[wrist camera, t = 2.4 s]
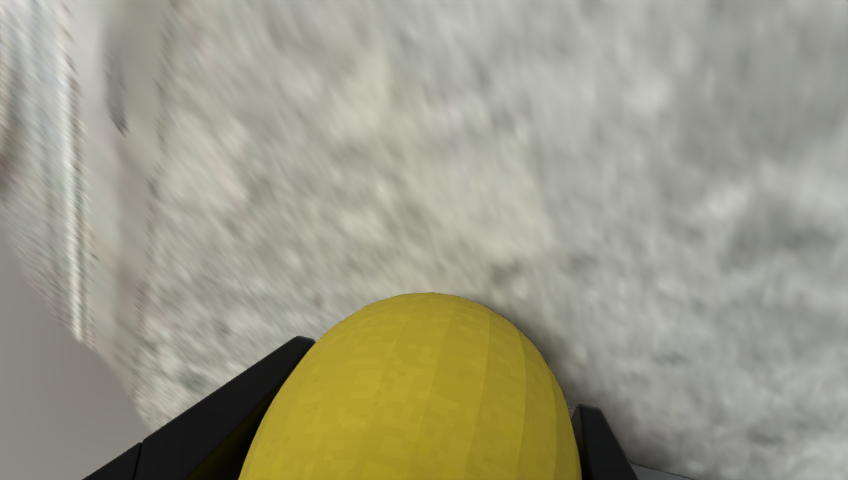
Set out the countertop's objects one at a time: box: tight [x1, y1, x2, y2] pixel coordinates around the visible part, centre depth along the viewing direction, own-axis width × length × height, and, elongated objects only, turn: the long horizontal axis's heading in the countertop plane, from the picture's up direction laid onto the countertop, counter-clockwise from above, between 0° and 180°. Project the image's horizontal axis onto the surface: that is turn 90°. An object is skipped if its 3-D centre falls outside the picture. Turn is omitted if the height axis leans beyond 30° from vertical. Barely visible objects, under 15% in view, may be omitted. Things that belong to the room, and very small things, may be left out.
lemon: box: [239, 292, 582, 480], centre depth 8 cm, size 6×6×8 cm
